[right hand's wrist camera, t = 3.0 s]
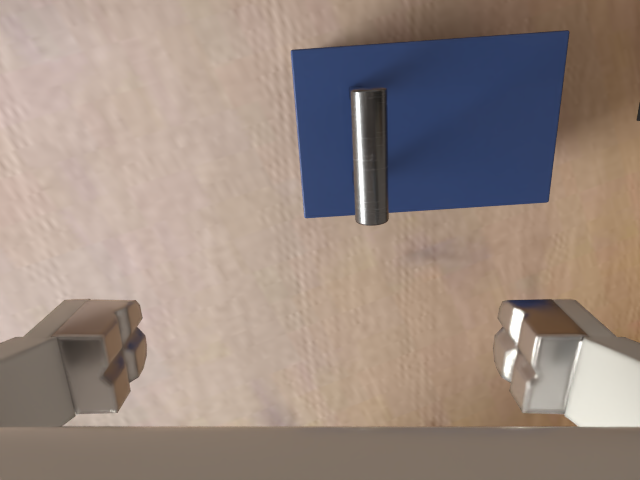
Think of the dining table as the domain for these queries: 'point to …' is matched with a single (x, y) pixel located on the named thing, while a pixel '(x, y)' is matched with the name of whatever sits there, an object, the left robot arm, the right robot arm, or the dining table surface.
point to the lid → (428, 124)
